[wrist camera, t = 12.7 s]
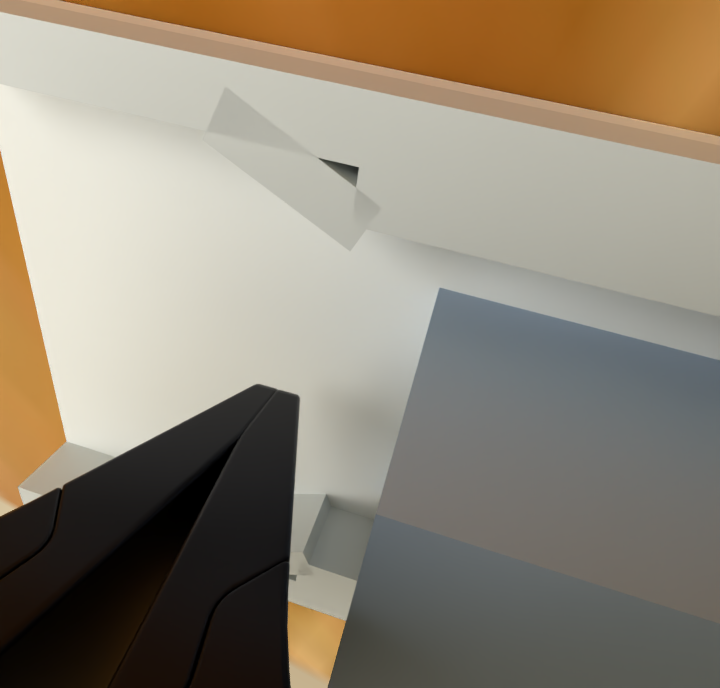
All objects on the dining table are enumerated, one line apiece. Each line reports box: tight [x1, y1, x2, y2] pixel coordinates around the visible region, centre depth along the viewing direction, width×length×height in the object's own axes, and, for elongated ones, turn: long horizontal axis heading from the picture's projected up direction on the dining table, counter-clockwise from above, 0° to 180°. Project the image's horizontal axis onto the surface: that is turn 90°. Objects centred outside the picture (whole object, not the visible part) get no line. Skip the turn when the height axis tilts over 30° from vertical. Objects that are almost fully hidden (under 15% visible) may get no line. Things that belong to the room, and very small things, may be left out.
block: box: [328, 287, 720, 688], centre depth 7 cm, size 5×5×4 cm
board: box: [0, 0, 720, 621], centre depth 9 cm, size 14×10×2 cm
